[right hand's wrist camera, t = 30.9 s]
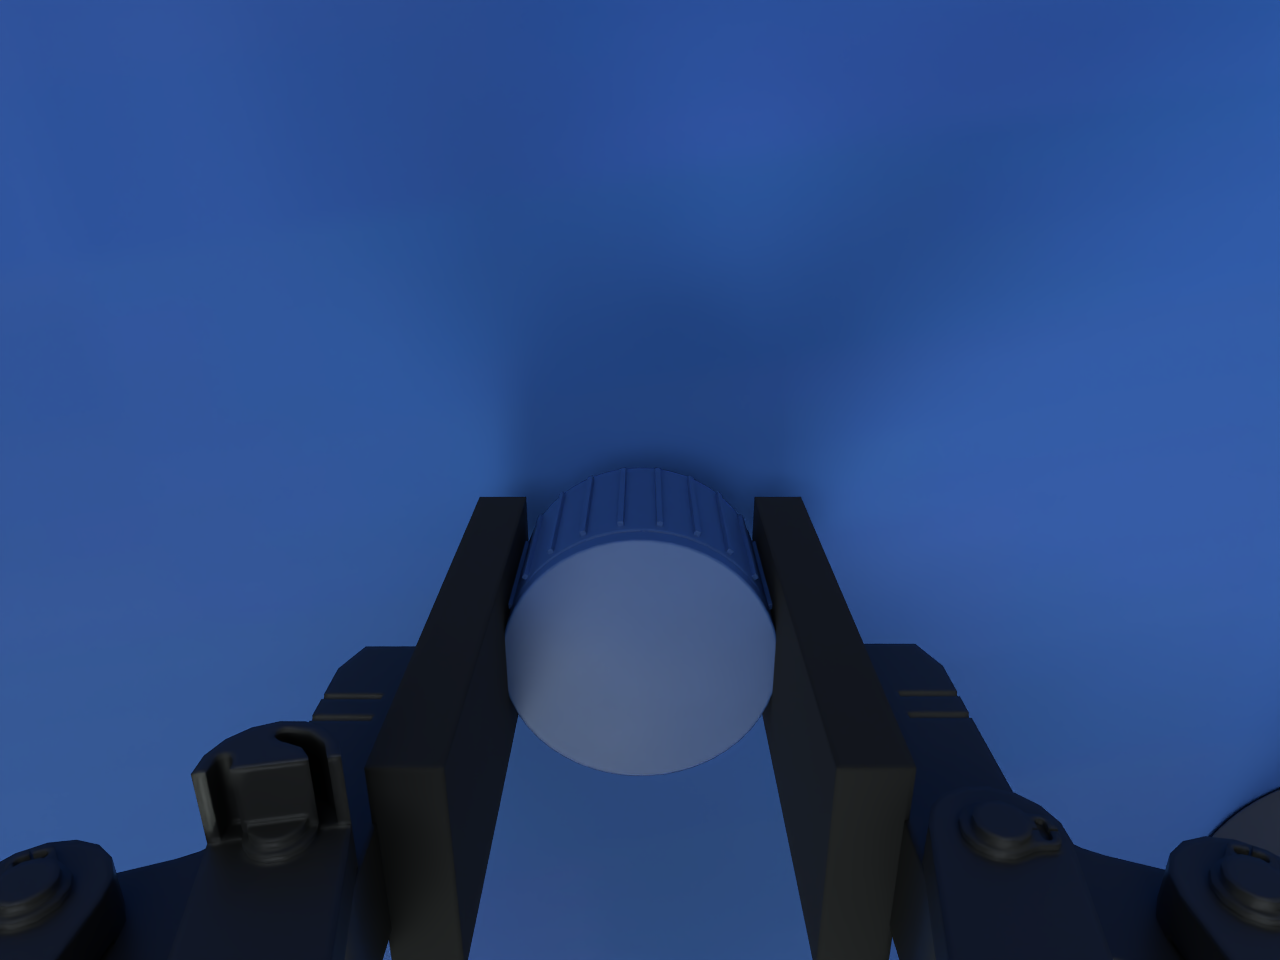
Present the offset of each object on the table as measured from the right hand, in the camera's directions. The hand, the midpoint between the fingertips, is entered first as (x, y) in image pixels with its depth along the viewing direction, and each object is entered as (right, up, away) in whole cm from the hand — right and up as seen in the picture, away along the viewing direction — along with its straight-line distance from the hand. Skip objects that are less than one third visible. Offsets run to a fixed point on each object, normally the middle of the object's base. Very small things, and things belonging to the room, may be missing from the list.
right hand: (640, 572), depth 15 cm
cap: (0, 0, 0) cm, 0 cm away
